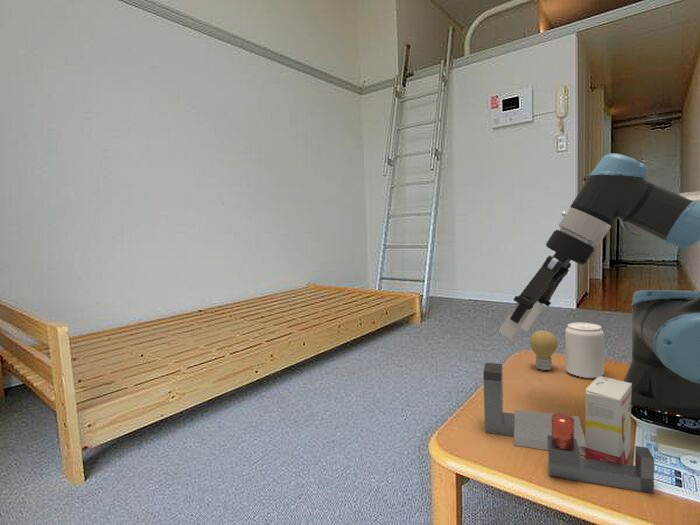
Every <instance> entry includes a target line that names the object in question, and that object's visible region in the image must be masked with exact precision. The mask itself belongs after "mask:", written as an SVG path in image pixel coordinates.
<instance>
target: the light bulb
mask: <svg viewBox="0 0 700 525" xmlns="http://www.w3.org/2000/svg"><path fill="white" fill-rule="evenodd" d="M529 339H530V340H529V345H530V348H531V350H532V352H534V354H535V355H536V356H535V367H536V369H537V370H539V369H541V370H540V371H543V370H548V371H550V370H552V368H553V366H552V365H553V361H552V356H553V354H554V353H556V350H557V348H558V340H557V337H556V336H555V335H554V334H553V333H552V332H550V331H547V330H537V331H535V332H534V333H533V334H532V335H531V336H530V338H529Z"/></svg>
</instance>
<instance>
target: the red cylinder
mask: <svg viewBox="0 0 700 525" xmlns="http://www.w3.org/2000/svg"><path fill="white" fill-rule="evenodd" d="M552 414H553V415H552V436H550V435H547V444H548V450H547V459H548V458H549V464H554V465H560V466H567V467H573V468H579V469H580V458H581V455H580V452H579V448H578V444H577V440H576V439H574V418H573V417H571V416H572V415H569V414H565V413H552Z"/></svg>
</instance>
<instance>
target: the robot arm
mask: <svg viewBox="0 0 700 525" xmlns="http://www.w3.org/2000/svg"><path fill="white" fill-rule="evenodd" d="M648 173H649V168H648V166H647V165H646V164H645V163H642V162H640V161H638V160H637V159H635V158H633V157H630V156H627V155H624V154H620V153H616V152H615V153H612V152H611V153H607V154H604V156H603V157H601V159H600V161H599V162H598V163H597V165H596V167H595V168H594V169H593V170H592V172H591V173H590V174H589V176H588V178H587V179H586V181H585V182H584V184H583V185H582V187H581V188H580V190H579V192H578V193H577V195H576V196H575V199H574V200H573V201H572V203H571V205H570V206H569V208H568V211H566V210H565V211H562V212H561V216H562V217H563V218H562V219H561V220H560V222H559V223H558V228H560V229H556V230H554V231H553V232H552V233H551V235H550V236H549V238H548V240H547V241H546V243H545V245H546V247H547V248H548V249H550V250H551V251H553V252H555V253H554V254H553V256H552V255H548V256H547V257H546V259H545V261H544V262H543V264H542V265H541V266H540V268H539V269H538V271H537V272H536V273H535V274H534V275H533V277H532V279H531V280H530V281H529V282H528V283H527V285H526V286H525V287H524V289H523V290H522V292H520V294H519V295H515V296H514V298H513V301H514V302H516V303H515V305H514V306H513V308H512V309H511V311H510V312H509V314H508V316H507V317H506V319H505V320H504V321H503V323H502V325H501V327H500V328H499V329H498V333H500V335H503V336H504V337H506V338H508V339H509V340H510V341H512V340H513V339H514V338H515V336H516V335H517V333H518V332H519V330H520V329H522V330H523V331H526V332H528V331H529V330H530V328H531V327H532V326H533V324H534V323H535V322H536V319H537V318H538V317H539V315H540V314H541V312H542V311H543V309H544V307H545V306H546V307H550V305H552V302H551V298H552V297H553V295H554V293H555V292H556V290H557V289H558V286H559V285H560V284H561V282H562V281H563V279H564V278H565V276H566V275H567V274H568V273H569V271H570V268H571V266H572V263H571V261H572V262H574V263H577V264H579V265H586V263H587V262H588V261H589V259H590V258H591V256H592V255H593V253H594V252H595V247H594V246H598V245H600V243H601V242H602V240H603V239H604V238H605V237H606V235H607V234H608V232H609V230H610V229H611V228H612V225H613V224H614V222H615V221H616V220H617V219H618V220H619V222H620V225H621V226H622V228H623V229H624V230H626V231H627V232H629V233H631V234H632V235H636V236H647V237H653V238H657V239H660V240H662V241H664V242H665V243H666V244H670V245H673V246H676V247H678V248H681V249H688V248H691V247H693V246H694V245H696V244H697V243H698V242H699V241H700V190H698V191H696V190H695V191H687V192H680V193H676V192H673V191H671V190H669V189H666V188H663V187H661V186H658V185H656V184H654V183H652V182H650V181H649V180H648V179H646V177H647V174H648ZM630 305H631V313H632V314H631V316H632V317H631V318H632V319H631V320H632V321H631V322H632V323H631V332H632V333H631V362H630V365H629V366H628V369H627V371H626V374H625V376H624V378H623V380H622V381H624V382H628V383H632V388H631V405H632V406H636V407H637V405H639V406H646V407H650V408H655V409H658V410H663V411H668V412H672V413H676V414H680V415H684V416H688V417H693V418H692V419H696V418H697V419H698V418H700V290H676V289H675V290H674V289H673V290H671V289H668V290H667V289H663V290H662V289H642V290H640V289H639V290H637V291H635V292H634V293H633V294H632V303H631V304H630Z"/></svg>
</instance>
